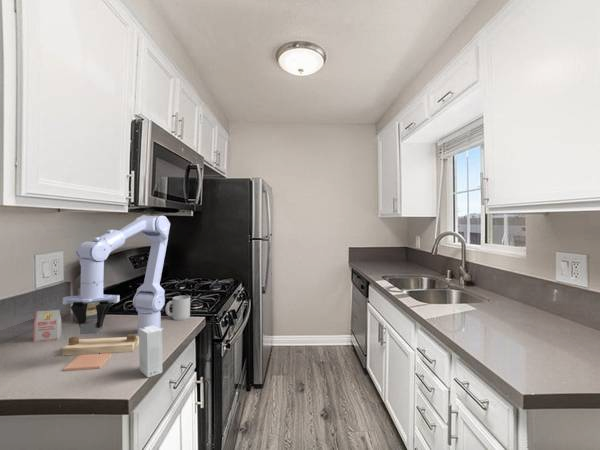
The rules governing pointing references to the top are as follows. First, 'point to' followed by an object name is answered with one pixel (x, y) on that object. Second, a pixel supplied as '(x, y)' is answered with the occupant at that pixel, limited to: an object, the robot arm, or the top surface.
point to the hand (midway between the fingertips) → (91, 327)
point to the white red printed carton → (47, 325)
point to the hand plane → (100, 345)
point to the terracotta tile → (88, 361)
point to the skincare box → (150, 350)
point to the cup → (179, 308)
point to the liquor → (91, 307)
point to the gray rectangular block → (89, 327)
